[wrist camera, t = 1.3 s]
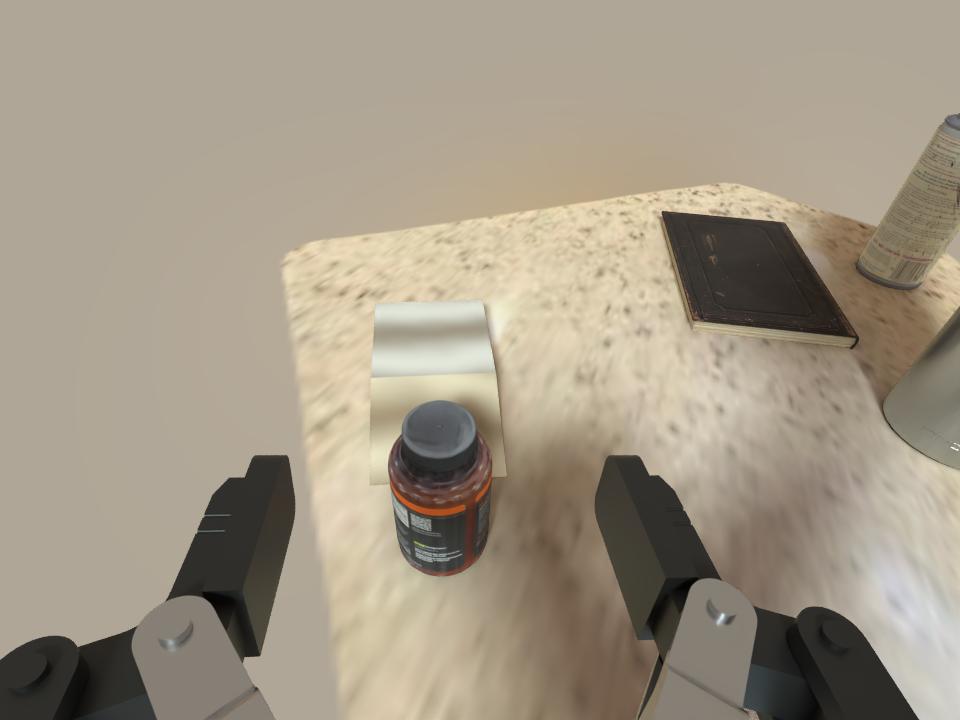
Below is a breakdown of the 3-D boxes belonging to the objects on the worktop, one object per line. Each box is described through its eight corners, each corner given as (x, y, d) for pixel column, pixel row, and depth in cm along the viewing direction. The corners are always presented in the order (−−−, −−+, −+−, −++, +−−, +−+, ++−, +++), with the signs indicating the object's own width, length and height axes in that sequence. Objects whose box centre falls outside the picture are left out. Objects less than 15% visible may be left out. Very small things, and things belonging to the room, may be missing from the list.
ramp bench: (505, 485, 40) (510, 451, 37) (371, 494, 39) (365, 459, 36) (480, 333, 53) (482, 299, 50) (379, 336, 52) (375, 302, 49)
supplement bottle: (477, 492, 38) (485, 380, 30) (495, 571, 34) (509, 464, 26) (393, 505, 37) (380, 392, 29) (401, 588, 33) (387, 481, 25)
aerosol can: (934, 284, 61) (1071, 100, 48) (891, 293, 60) (1020, 104, 46) (884, 254, 66) (996, 79, 53) (842, 262, 64) (947, 82, 51)
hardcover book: (686, 336, 53) (693, 318, 52) (657, 226, 70) (662, 210, 69) (850, 353, 52) (863, 335, 51) (781, 238, 69) (788, 222, 68)
